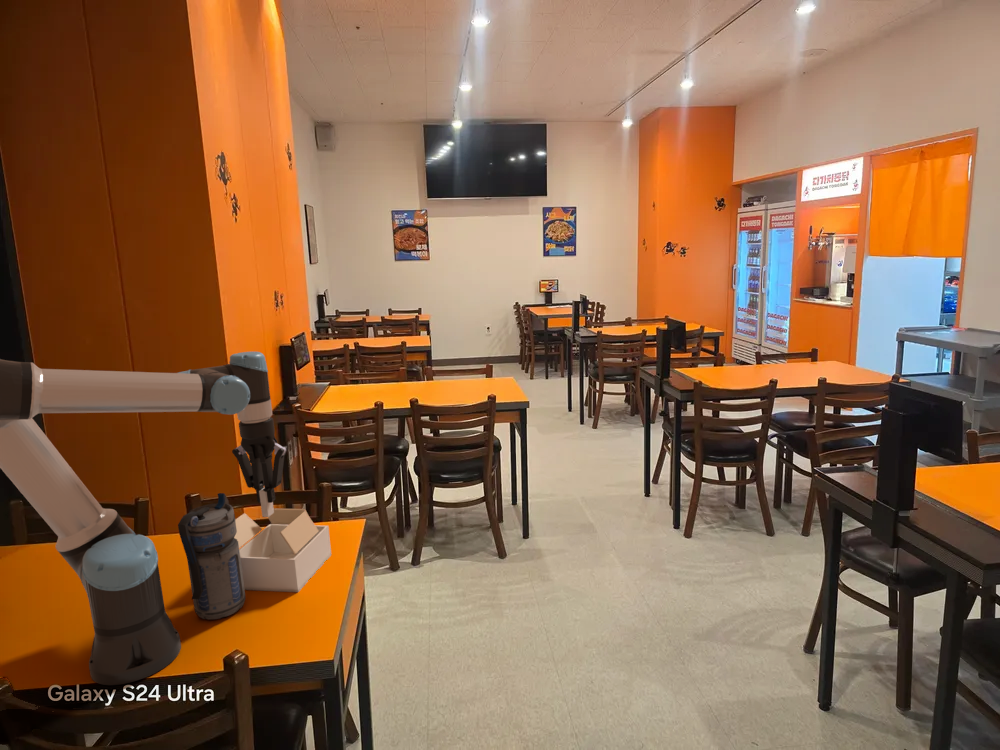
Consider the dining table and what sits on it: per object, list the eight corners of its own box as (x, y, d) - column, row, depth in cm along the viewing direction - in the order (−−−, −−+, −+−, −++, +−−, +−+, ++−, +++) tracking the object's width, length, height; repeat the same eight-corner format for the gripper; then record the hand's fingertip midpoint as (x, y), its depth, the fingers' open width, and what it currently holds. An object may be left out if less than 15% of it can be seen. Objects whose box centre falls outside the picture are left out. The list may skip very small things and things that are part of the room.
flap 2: (294, 554, 141) (295, 553, 141) (279, 532, 140) (280, 532, 140) (317, 531, 152) (318, 530, 152) (304, 511, 152) (305, 510, 152)
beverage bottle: (176, 626, 129) (158, 513, 125) (220, 593, 142) (206, 490, 137) (216, 632, 127) (200, 517, 122) (258, 597, 139) (244, 492, 135)
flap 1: (304, 510, 153) (305, 509, 153) (263, 509, 155) (263, 508, 155) (312, 524, 157) (312, 523, 157) (271, 523, 158) (272, 522, 159)
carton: (298, 592, 141) (292, 539, 138) (217, 588, 144) (210, 536, 142) (331, 555, 158) (326, 507, 156) (259, 552, 162) (253, 505, 159)
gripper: (290, 414, 145) (301, 508, 150) (239, 415, 147) (251, 508, 152) (273, 423, 138) (286, 521, 142) (220, 423, 140) (234, 520, 145)
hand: (268, 514), depth 147 cm, fingers closed
